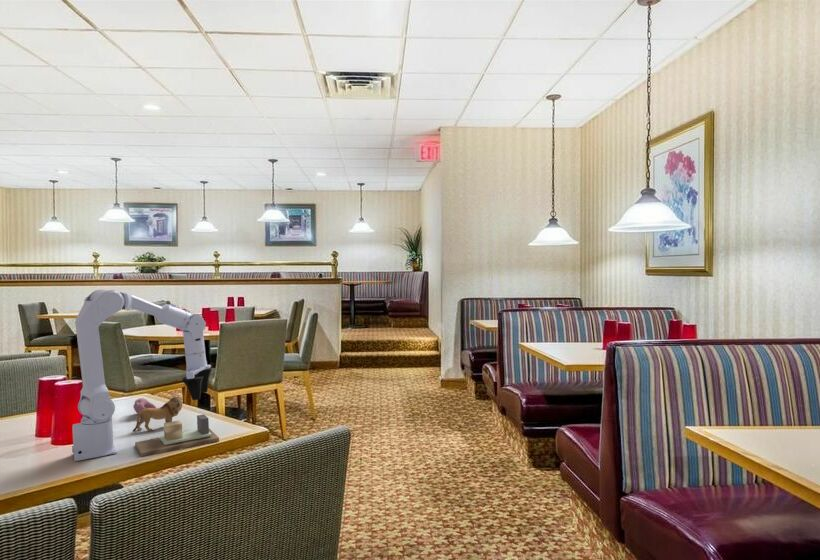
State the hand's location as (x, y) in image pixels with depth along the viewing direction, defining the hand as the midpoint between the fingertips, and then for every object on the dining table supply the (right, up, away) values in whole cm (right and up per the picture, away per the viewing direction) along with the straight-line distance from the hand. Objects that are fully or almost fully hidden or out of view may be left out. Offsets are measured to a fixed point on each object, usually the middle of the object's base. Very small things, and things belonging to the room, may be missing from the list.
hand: (200, 395), depth 165 cm
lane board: (-1, -10, -15) cm, 18 cm away
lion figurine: (-13, -10, +1) cm, 17 cm away
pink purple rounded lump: (-25, -10, +16) cm, 31 cm away
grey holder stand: (+1, -9, -13) cm, 16 cm away
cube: (-2, -8, -15) cm, 17 cm away
